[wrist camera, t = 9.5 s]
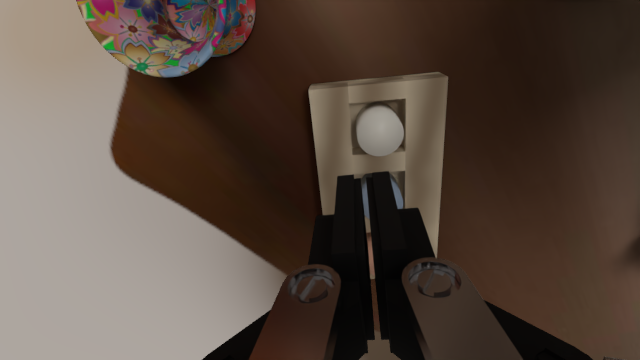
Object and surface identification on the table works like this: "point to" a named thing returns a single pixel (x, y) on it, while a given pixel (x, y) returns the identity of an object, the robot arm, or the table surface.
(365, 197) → the button slate
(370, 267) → the button terracotta
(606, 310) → the table surface
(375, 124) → the button ivory
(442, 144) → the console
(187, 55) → the multicolour ceramic cup
